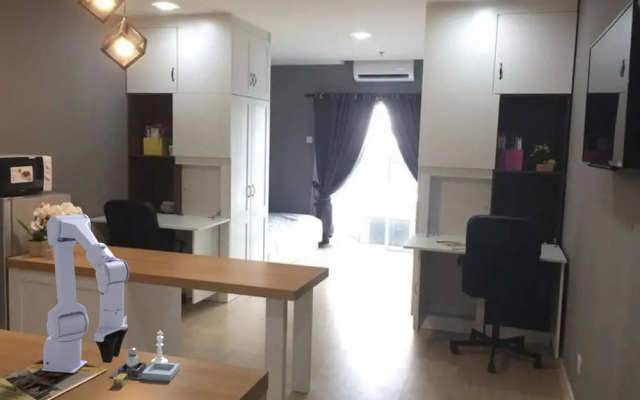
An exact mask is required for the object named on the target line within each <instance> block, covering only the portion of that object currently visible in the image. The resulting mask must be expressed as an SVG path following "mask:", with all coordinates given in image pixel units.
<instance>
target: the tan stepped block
mask: <svg viewBox="0 0 640 400" xmlns="http://www.w3.org/2000/svg"><path fill="white" fill-rule="evenodd" d="M128 379H129V375H128V374H126V373H125V372H124V373H120V374H119V375H118V376H117V377H114V378H112V387H114V388H115V387H116V388H123V387H124V386H125V385H126V384H127V382H128V381H129V380H128Z"/></svg>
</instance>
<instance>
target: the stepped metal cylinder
mask: <svg viewBox="0 0 640 400" xmlns="http://www.w3.org/2000/svg"><path fill="white" fill-rule="evenodd" d="M137 349H138V348H137V347H133V346H132V347H129V348H128V349H127V350H128V354H126V361H125V362H126V371H125V374H128V376H129V375H130V376H133V370H134V369H136V370H137V369H138V362H139V354H138V353H137V351H138V350H137Z"/></svg>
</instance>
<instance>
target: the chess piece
mask: <svg viewBox="0 0 640 400" xmlns="http://www.w3.org/2000/svg"><path fill="white" fill-rule="evenodd" d="M156 334H157V335H158V336H156V340H157V343H156V344H155V346H156V347H157V351H156V357H155V358H153V359H151V361H150V364H151V363H152V362H165V363H169V362H168V361H169V360H168V359H167V358H165V357H164V356H163V351H162V347H163V346H164V343H162V342H163V340H164V336H163V335H164V332H162V330H158V332H157V333H156Z"/></svg>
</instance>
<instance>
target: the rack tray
mask: <svg viewBox="0 0 640 400" xmlns="http://www.w3.org/2000/svg"><path fill="white" fill-rule="evenodd" d="M180 365H181V364H180V363H175V362H168V363H165V362H152V363H151V362H150V363H149V365H147V366H148V367H147V368H146V369H145V370H144V371H143V372H142V380H141V381H154V382H168V383H171V382H172V380H173V379H174V378H175V377H176V375H178V373H179V372H180V369H181V368H180Z"/></svg>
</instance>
